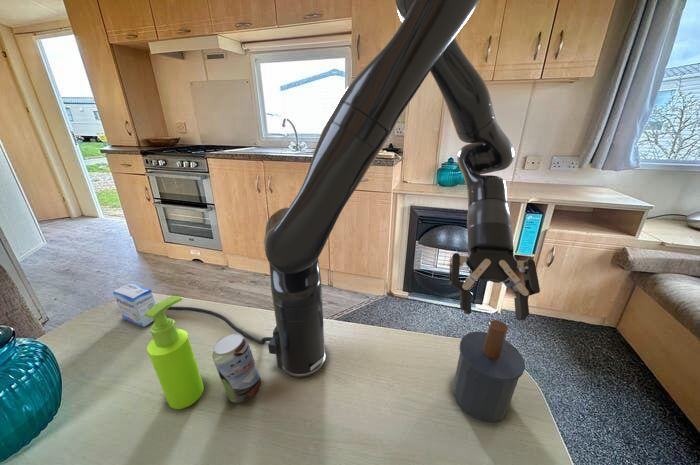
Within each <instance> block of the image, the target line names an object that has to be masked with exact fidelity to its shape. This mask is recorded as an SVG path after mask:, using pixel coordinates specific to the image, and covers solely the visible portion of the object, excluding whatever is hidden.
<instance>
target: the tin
mask: <svg viewBox="0 0 700 465" xmlns="http://www.w3.org/2000/svg"><path fill="white" fill-rule="evenodd" d="M519 378H520V377H519ZM519 378H518V379H516V380H513V381H497V380H493V379H490V378H487V377H485V376H483V375H481V374H479V373H477V372H476V371H475V370H473V369H472V368H471V367H470V366H469V365H468V364H467V363H466V362H465V361H464V359H463V358H462V355H461V353H460V352H459V357H458V360H457V366H456V370H455V375H454V379H453V384H452V394H453V397H454V400H455V402H456V403H457V405H458V406H459V407H460V409H462V410H463V411H464V412H465V413H466V414H467V415H468V416H470V417H471V418H474V419H475V420H478V421H481V422H486V423H495V422H496V423H497V422H499V421H501V420H503V419H504V417H505V416H506V415H507V413H508V410H509V407H510V404H511V402H512V398H513V395H514V394H515V390H516V387H517V384H518V381H519V380H520V379H519Z"/></svg>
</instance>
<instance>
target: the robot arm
mask: <svg viewBox="0 0 700 465" xmlns="http://www.w3.org/2000/svg"><path fill="white" fill-rule="evenodd" d="M394 2H395V7H396V11H397V13H398V16H399V19H400V21H401V24H400V25H399V27H398V28H397V30H396V32H395V33H394V35H393V36H392V38H390V40H389V41H388V42H387V44H386V45H385V46H384V47H383V48H382V49H381V50H380V51H379V53H377V54H376V56H374V57H373V59H372V60H371V61H370V62H369V63H368V64H367V65H365V66H364V68H363V69H362V70H361V71H360V72H359V73H358V74H357V75H356V76H355V78H354V79H353V80H352V81H351V82H350V84H349V85H348V86H347V87H346V88H345V90H344V91H343V93H342V94H341V95H340V97H339V99H338V101H337V102H336V104H335V106H334V107H333V109H332V111H331V113H330V115H329V116H328V119H327V121H326V123H325V124H324V127H323V129H322V131H321V133H320V136H319V138H318V140H317V143H316V146H315V149H314V152H313V155H312V158H311V160H310V164H309V167H308V170H307V174H306V176H305V179H304V181H303V183H302V185H301V187H300V189H299V191H298V192H297V195H296V196H295V198H294V200H293V201H292V202H291V204H290V206H287V207H283V208H279V209H278V210H276V211H275V212H273V214H272V215H271V216H270V217H269V218H268V219H267V222H266V224H265V227H264V228H265V230H264V240H263V245H264V248H263V249H264V253H265V257H266V259H267V261H268V266H269V278H270V290H271V297H272V303H273V311H274V319H275V327H274V329H273V330H272V336H264V337H262V338H261V339H259V338H256V337H255V336H252V335H250V334H249V333H247V332H245V331H244V330H242V329H241V328H239V327H237V326H236V325H235V324H234V323H233V322H232V321H231V320H230V319H228V317H226V316H224V315H222V314H220V313H218V312H216V311H213V310H209V309H206V308H205V309H204V308H198V307H193V306H171V307H169V308H168V309H167V310H168V311H191V312H197V313H202V314H203V313H204V314H208V315H211V316H213V317H216V318H218V319H220V320H222V321H224V322H225V323H226V324H227V325H228V326H229V327H230V328H231V329H233V331H235V332H236V333H238V334H241V335H242V337H244V338H246V339H247V340H249V341H253V342H255V343H257V344H260V345H265V344H266V342H268V343H267V346H268V353H269V354H271V355H275V357H276V362H277V363H276V366H277V368H280V369H281V370H283V372H284V373H285V374H286V375H288V376H289V377H292V378H298V379H299V378H307V377H310V376H313V375H314V374H316V373H318V372H319V371H320V370H321V369H322V368H323V366H324V364H325V362H326V347H325V329H324V327H325V326H324V308H323V289H322V288H323V286H322V276H321V271H320V262H319V257H320V256H321V254H322V252H323V250H324V248H325V246H326V244H327V242H328V239H329V237H330V235H331V233H332V231H333V229H334V227H335V225H336V223H337V222H338V219H339V217H340V215H341V213H342V211H343V210H344V208H345V207H346V205H347V203H348V202H349V200H350V199H351V197H352V196H353V194H354V192H355V191H356V189H357V188H358V187H359V185H360V183H361V182H362V180H363V179H364V177H365V176H366V174H367V172H368V171H369V169H370V167H371V166H372V164H373V163H374V162H375V160H376V159H377V157H378V155H379V154H380V152H381V150H383V147H384V146H385V144H386V143H387V141H388V139H389V137H390V136H391V135H392V133H393V131H394V129H395V128H396V126H397V124H398V122H399V120H400V119H401V118H402V116H403V115H404V113H405V111H406V109H407V107H408V106H410V103H411V102H412V100H413V98H414V97H415V96H416V94H417V92H418V91H419V89H420V87H421V86H422V84H423V83H424V81H425V79H426V78H427V77H428V75H429V74H431V76H432V78H433V79H434V81H435V83H436V85H437V87H438V89H439V91H440V94H441V96H442V98H443V100H444V103H445V105H446V107H447V110H448V113H449V116H450V118H451V121H452V124H453V127H454V129H455V133H456V135H457V138H458V139H459V140H460V142H463V143H465V145H463V146H462V147H461V148H460V149H459V151H458V154H457V164H458V167H459V169H460V172H461V174H462V176H463V177H462V178H463V179H464V182H465V185H466V192H467V215H466V219H467V220H466V232H467V256H466V255H460V254H459V253H457V252H455V253H454V254H453V255H452V256H451V257H450V259H449V272H448V274H449V275H448V286H449V288H452V289H456V290H457V291H458V292H459V308H460V310H461V311H463V314H464V315H471V314H472V291H471V290H470V288H471V287H472V286H473V285H474V284H475V282H477V281H478V280H479V281H480V282H481V283H483V282H484V283H486V282H492V283H496V284H500V283H502V284H503V285H504V286H505V287H506V288H507V289H509V290H510V291H511V293H513V295H514V296H515V297H514V298H513V301H514V312H515V313H514V314H515V319H516V321H525V320H526V319H527V317H529V315H530V308H529V306H530V305H529V297H530V296H534V295H537V294H540V292H541V288H540V283H539V282H540V281H539V278H538V272H537V266H536V262H535V260H534V259H533V258H528V259H527V260H517V258H516V257H515V254H514V248H515V247H514V239H513V227H512V217H511V213H510V208H509V202H508V201H509V200H508V191H507V183H506V181H505V180H504V179H503V177H501V176H498V175H492V174H490V173H495V172H499V171H505V170H506V169H508V168H509V167H510V166H511V165H512V163H513V161H514V158H515V150H514V147H513V144H512V142H511V140H510V138H508V136H507V134H506V133H505V132H504V131H503V129H502V128H501V127H500V124H499V123H498V121H497V119H496V116H495V115H496V114H495V110H494V107H493V106H494V105H493V102H492V99H491V94H490V91H489V88H488V87H487V84H486V82H485V80H484V78H483V77H482V76H481V74H480V73H479V72H478V70H477V69H476V68H475V66H474V65H473V63H472V62H471V61H470V60H469V58H468V57H467V56H466V54H465V53H464V51H463V50H462V47H461V46H460V44H459V42H458V40H457V38H456V37H457V35H458V34H459V33H460V31H461V30H462V29H463V27H465V25H466V23H467V22H468V21H469V19H471V18H470V17H471V16H472V14H473V13H474V12H475V10H476V8H477V6H478V5H479V2H480V0H394ZM488 174H489V175H488ZM464 264H466V266H467V267H468V268H469V270H470V271H471V272H470V274H469V275H467V277H466V279H465V280H464V281H463V282H462V281H460V268H462V267H463V266H464ZM516 268H518V270H519V273H522V280H523V283H522V282H521V281H522V280H521V278H520V277H519V276H518V275H517V274H516V272H515V270H516ZM167 310H166V311H167Z"/></svg>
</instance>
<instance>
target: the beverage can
mask: <svg viewBox="0 0 700 465" xmlns="http://www.w3.org/2000/svg"><path fill="white" fill-rule="evenodd" d="M212 350H213V351H212V353H211V354H212V356H211V357H212V361H213V363H214V366H215V368H216V371H217V373H218V376H219V378H220V381H221V383H222V385H223V388H224V391H225V392H226V393H225V394H226V395H227V397H228V399H229V401H231V402H232V403H236V404H237V403H239V404H240V403H243V402H247V401H248V400H250V399H251V398H253V397H254V396H255V395H256V394H257V393H258V391H259V390H260V388H261V387H262V386H261V385H262V379H261V375H260V373H259V370H258V367H257V364H256V361H255V358H254V355H253V352H252V349H251V346H250V344H249V341H248V338H246V337H245V336H243V335H241V334H240V333H238V332H235V333H234V332H233V333H229V334H227V335H224V336H223V337H221V338H220V339H218V340H217V341H216V342H215V344H213V347H212Z"/></svg>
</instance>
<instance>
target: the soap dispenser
mask: <svg viewBox="0 0 700 465" xmlns="http://www.w3.org/2000/svg"><path fill="white" fill-rule="evenodd" d="M182 300H183V297H182V296H178V295H172V296H169V297H167V298H165V299H163V300H161V301H160V302H158V303H156V305H155V306H154V307H152V308H151V309H150V310H148V311H147V312H146V313H144V314H145V316H146V317H149V318H152V319H153V320H154V321H153V324H152V325H151V326H150V327H149V328H150V333H151V336H152V339H151V340H150V341H149V343H148V345H147V346H146V351H147V354H148V356H149V359H150V361H151V363H152V366H153V369H154V371H155V373H156V376H157V379H158V381H159V384H160V386H161V389H162V392H163V394H164V396H165V398H166V401H167V404H168V406H169V407H170V408H171V409H174V410H182V409H185V408H188V407H190V406H192V405H193V404H194V403H196V402H197V401H198V400H199V399H200V397H201V396H202V394H203V392H204V389H205V388H204V387H205V386H204V383H203V380H202V377H201V373H200V370H199V367H198V363H197V360H196V357H195V353H194V350H193V347H192V343H191V341H190V338H189V334H188V332H187V330H185V329H182V328H177V325H176V322H175V320H174V319H173V318H169V317H167V315H166V311H167V309H168V308H169V307H173V306H174V305H176V304H178V303H179V302H182Z"/></svg>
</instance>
